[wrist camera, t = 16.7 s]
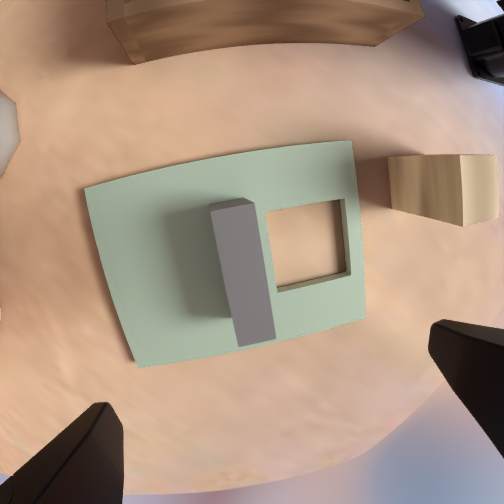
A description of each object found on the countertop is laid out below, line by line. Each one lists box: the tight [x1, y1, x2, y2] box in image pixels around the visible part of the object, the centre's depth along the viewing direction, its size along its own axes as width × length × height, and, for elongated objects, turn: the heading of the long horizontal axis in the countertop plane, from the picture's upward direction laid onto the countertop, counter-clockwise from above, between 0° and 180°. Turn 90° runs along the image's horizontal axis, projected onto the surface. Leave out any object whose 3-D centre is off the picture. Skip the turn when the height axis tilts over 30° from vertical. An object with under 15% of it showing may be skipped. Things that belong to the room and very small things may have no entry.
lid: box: [84, 140, 366, 368], centre depth 16 cm, size 16×12×4 cm
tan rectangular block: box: [387, 154, 499, 227], centre depth 16 cm, size 4×4×7 cm
